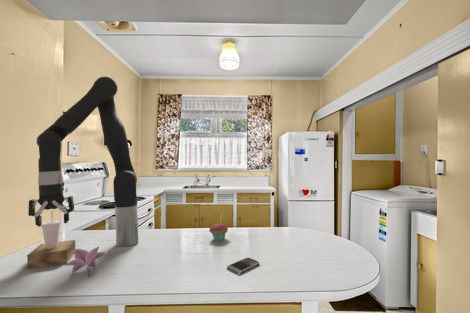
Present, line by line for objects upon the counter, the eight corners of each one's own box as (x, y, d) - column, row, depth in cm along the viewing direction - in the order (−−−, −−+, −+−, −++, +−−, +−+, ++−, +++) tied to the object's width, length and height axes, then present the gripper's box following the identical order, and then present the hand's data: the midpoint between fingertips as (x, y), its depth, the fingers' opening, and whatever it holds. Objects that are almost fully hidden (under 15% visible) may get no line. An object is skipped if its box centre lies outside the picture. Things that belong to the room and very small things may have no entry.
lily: (114, 269, 88) (107, 243, 91) (102, 270, 78) (95, 241, 81) (78, 284, 85) (73, 257, 88) (60, 288, 75) (55, 257, 78)
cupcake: (231, 237, 116) (230, 212, 116) (221, 243, 109) (220, 216, 108) (216, 234, 120) (216, 210, 120) (205, 240, 113) (205, 214, 113)
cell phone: (260, 265, 87) (260, 261, 87) (238, 276, 79) (238, 272, 79) (248, 260, 91) (248, 256, 91) (225, 270, 84) (225, 266, 84)
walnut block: (75, 251, 103) (75, 239, 103) (66, 263, 92) (66, 249, 92) (41, 256, 99) (40, 244, 99) (27, 269, 88) (27, 255, 88)
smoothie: (50, 250, 92) (49, 213, 92) (36, 249, 93) (35, 212, 93) (65, 244, 98) (64, 209, 98) (52, 243, 99) (51, 209, 99)
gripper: (74, 180, 101) (76, 219, 101) (32, 183, 96) (34, 224, 96) (69, 182, 94) (71, 224, 94) (23, 185, 89) (26, 229, 89)
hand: (52, 224), depth 95 cm, fingers open, 8 cm apart
